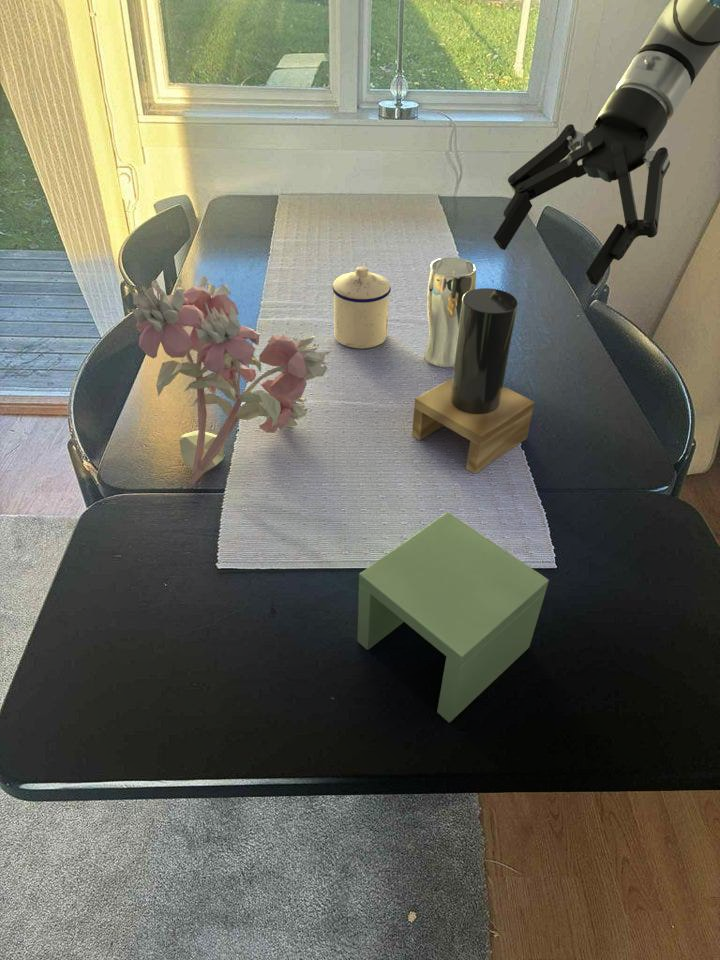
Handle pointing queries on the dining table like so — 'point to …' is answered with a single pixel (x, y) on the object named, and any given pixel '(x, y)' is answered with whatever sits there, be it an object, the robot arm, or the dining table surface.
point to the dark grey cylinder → (482, 349)
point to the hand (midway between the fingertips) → (542, 261)
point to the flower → (223, 364)
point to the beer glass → (446, 306)
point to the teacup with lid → (361, 308)
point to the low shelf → (475, 423)
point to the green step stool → (454, 604)
